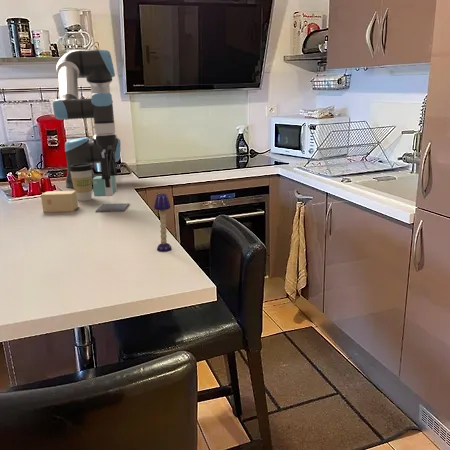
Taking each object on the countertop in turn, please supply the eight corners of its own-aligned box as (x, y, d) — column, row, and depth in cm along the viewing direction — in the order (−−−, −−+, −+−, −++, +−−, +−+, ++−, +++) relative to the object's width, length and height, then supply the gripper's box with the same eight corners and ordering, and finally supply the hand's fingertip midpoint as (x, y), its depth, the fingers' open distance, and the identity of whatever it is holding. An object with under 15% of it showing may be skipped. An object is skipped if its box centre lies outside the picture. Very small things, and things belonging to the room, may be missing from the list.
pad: (102, 205, 192) (102, 203, 192) (129, 204, 192) (129, 203, 192) (95, 212, 181) (95, 210, 181) (123, 211, 181) (123, 209, 181)
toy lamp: (175, 247, 138) (171, 192, 133) (170, 252, 133) (166, 196, 129) (160, 246, 139) (156, 192, 134) (154, 252, 135) (150, 195, 130)
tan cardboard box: (49, 208, 190) (46, 191, 188) (79, 207, 190) (77, 190, 188) (43, 212, 184) (40, 194, 182) (74, 211, 184) (72, 193, 182)
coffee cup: (89, 202, 199) (85, 167, 194) (68, 201, 201) (63, 167, 196) (99, 196, 208) (96, 163, 204) (79, 196, 210) (75, 163, 206)
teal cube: (98, 193, 188) (96, 176, 186) (115, 192, 188) (113, 175, 186) (94, 196, 182) (92, 178, 180) (112, 195, 182) (110, 178, 180)
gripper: (102, 132, 187) (108, 188, 194) (88, 137, 169) (95, 199, 176) (120, 132, 187) (126, 188, 194) (109, 136, 169) (115, 198, 175)
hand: (111, 193), depth 185 cm, fingers closed on teal cube, 6 cm apart
